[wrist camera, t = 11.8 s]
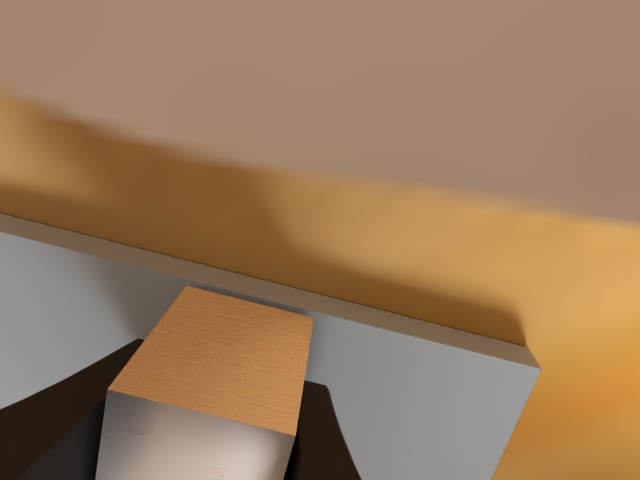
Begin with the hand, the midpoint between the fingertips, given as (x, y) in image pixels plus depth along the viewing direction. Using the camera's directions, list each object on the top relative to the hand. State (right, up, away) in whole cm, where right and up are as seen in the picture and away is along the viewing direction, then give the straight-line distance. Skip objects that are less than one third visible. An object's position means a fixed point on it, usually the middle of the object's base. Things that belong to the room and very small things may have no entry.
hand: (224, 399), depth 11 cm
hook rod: (-1, -4, +2) cm, 5 cm away
